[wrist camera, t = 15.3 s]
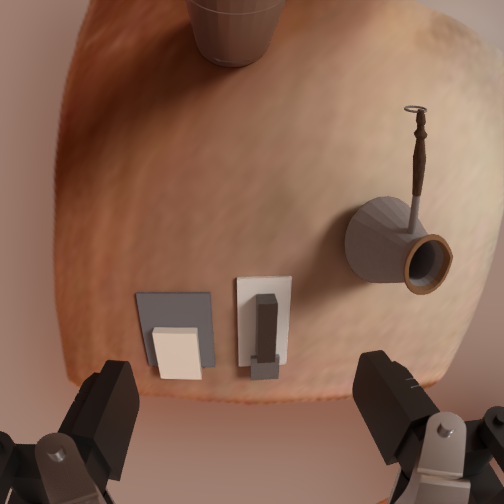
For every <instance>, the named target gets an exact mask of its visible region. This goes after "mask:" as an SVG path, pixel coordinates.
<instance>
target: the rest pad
mask: <svg viewBox="0 0 504 504" xmlns="http://www.w3.org/2000/svg"><path fill="white" fill-rule="evenodd" d="M291 281H292V277H291V276H261V277H237V312H238V356H239V367H242V366H250V356H251V355H256V351H255V345H256V294H275V296H276V299H277V302H278V317H277V338H276V354H279V356H280V361H279V365H280V364H286V357H287V344H288V331H289V316H290V299H291Z"/></svg>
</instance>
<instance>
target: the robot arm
mask: <svg viewBox="0 0 504 504" xmlns="http://www.w3.org/2000/svg"><path fill="white" fill-rule="evenodd" d="M185 1H186V5H187V9H188V13H189V17H190V21H191V25H192V28H193V33H194V37H195V41H196V44H197V47H198V49H199V51H200V53H201V54H202V55H203V56H204V57H205V58H206V59H207V60H209V61H210V62H212V63H214V64H216V65H219V66H223V67H242V66H245V65H249V64H251V63H253V62H255V61H256V60H258V59H259V58H261V57H262V56H263V54H264V53H265V52H266V50H267V48H268V47H269V44H270V41H271V39H272V36H273V34H274V31H275V29H276V26H277V23H278V21H279V18H280V16H281V13H282V10H283V8H284V5H285V3H286V0H185ZM352 392H353V398H354V401H355V402H356V405H357V407H358V409H359V411H360V413H361V414H362V417H363V418H364V421H365V423H366V425H367V426H368V429H369V431H370V433H371V435H372V437H373V438H374V441H375V443H376V445H377V447H378V449H379V451H380V453H381V455H382V457H383V459H384V461H385V463H386V465H390V464H393V463H396V462H399V464H400V466H401V467H400V469H399V471H398V473H397V476H396V479H395V482H394V485H393V488H392V491H391V494H390V496H389V499H388V501H387V504H504V487H503V485H502V484H501V482H500V480H499V479H498V477H497V475H496V474H495V472H494V470H493V469H492V467H491V466H490V464H489V462H490V461H491V460H492V459H493V457H494V458H495V460H496V461H497V463H498V465H499V466H500V467H501V469H502V471H503V472H504V407H500V406H495V407H491V408H490V409H488V410H487V412H486V413H485V415H484V417H483V418H482V419H480V420H473V421H463V420H462V419H461V418H460V417H459V416H458V415H456V414H453V413H450V412H440V411H439V409H438V408H437V407H436V405H435V404H434V403H433V402H432V400H431V399H430V398H429V397H428V395H427V394H426V392H425V391H424V390H423V389H422V387H421V386H419V383H418V382H417V381H416V380H415V379H413V376H412V375H411V373H410V372H409V371H408V370H407V368H405V367H404V366H402V365H401V364H399V363H398V362H396V361H393V362H392V361H391V360H390V359H389V357H388V356H387V355H386V353H385V352H384V351H382V350H378V351H372V352H366V353H362V354H361V355H360V358H359V362H358V366H357V370H356V374H355V378H354V382H353V388H352ZM138 411H139V393H138V390H137V386H136V383H135V379H134V376H133V372H132V368H131V365H130V363H129V362H128V361H116V360H107V361H106V362H105V364H104V366H103V368H102V370H101V372H100V373H95V372H94V373H93V374H92V375H91V376H90V377H88V378H87V379H86V380H85V381H84V382H83V384H82V386H81V388H80V390H79V393H78V394H77V396H76V397H75V401H73V403H72V405H71V407H70V409H69V411H68V413H67V415H66V417H65V419H64V420H63V422H62V424H61V426H60V428H59V430H58V432H57V433H51V434H48V435H45V436H43V437H42V438H41V439H40V440H39V441H38V442H37V444H15V443H14V442H13V440H12V439H11V437H10V436H9V435H8V434H6V433H4V432H1V431H0V504H5V501H6V498H7V496H8V493H9V490H10V488H11V489H12V492H11V495H10V498H9V501H8V504H115V502H114V500H113V499H112V497H111V495H110V493H109V492H108V490H107V488H106V485H107V481H108V479H111V480H116V481H120V478H121V473H122V469H123V465H124V462H125V458H126V454H127V450H128V446H129V442H130V439H131V435H132V432H133V428H134V424H135V421H136V417H137V414H138Z"/></svg>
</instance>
